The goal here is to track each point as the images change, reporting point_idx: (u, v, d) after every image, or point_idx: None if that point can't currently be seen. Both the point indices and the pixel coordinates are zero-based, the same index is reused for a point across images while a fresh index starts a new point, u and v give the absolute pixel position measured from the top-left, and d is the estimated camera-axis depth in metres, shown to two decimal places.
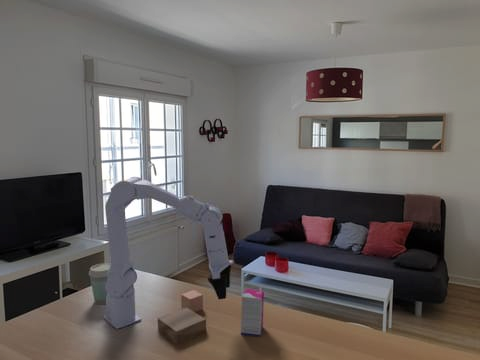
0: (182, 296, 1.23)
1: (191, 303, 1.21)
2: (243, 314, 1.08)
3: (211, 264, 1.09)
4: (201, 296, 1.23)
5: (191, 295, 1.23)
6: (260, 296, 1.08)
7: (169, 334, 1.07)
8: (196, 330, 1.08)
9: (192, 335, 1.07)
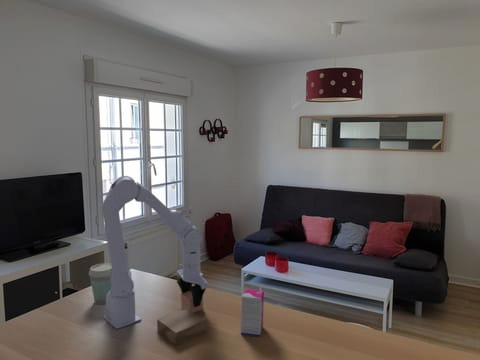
0: (182, 296, 1.23)
1: (191, 303, 1.21)
2: (243, 314, 1.08)
3: (190, 277, 1.20)
4: None
5: (191, 294, 1.23)
6: (260, 296, 1.08)
7: (168, 335, 1.06)
8: (196, 331, 1.08)
9: (191, 336, 1.07)
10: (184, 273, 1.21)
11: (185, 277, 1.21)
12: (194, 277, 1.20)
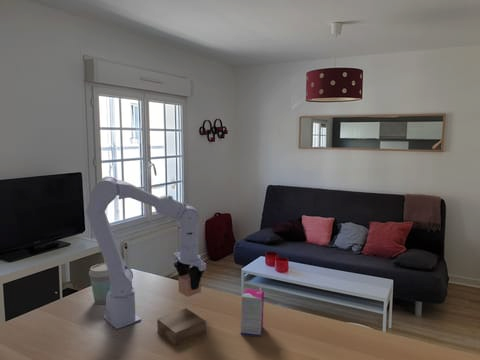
0: (179, 279, 1.20)
1: (188, 285, 1.17)
2: (243, 314, 1.08)
3: (188, 259, 1.16)
4: None
5: (189, 277, 1.20)
6: (260, 296, 1.08)
7: (168, 335, 1.06)
8: (195, 331, 1.07)
9: (191, 336, 1.07)
10: (181, 255, 1.17)
11: (182, 259, 1.17)
12: (192, 259, 1.17)
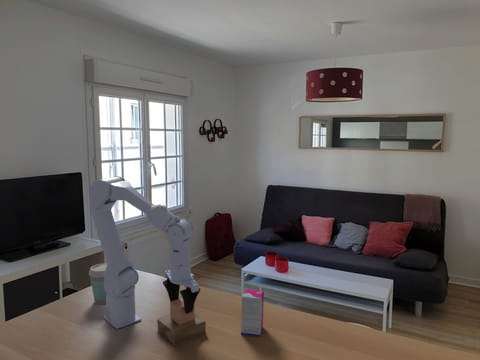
0: (171, 304, 1.10)
1: (180, 312, 1.07)
2: (243, 314, 1.08)
3: (179, 279, 1.06)
4: None
5: (181, 303, 1.09)
6: (260, 296, 1.08)
7: (168, 335, 1.06)
8: (195, 332, 1.07)
9: (191, 337, 1.07)
10: (172, 274, 1.07)
11: (173, 279, 1.07)
12: (183, 279, 1.06)
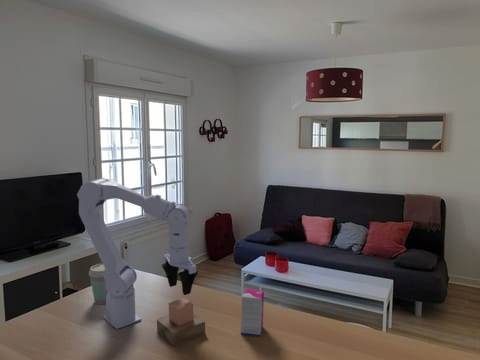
0: (170, 305, 1.09)
1: (179, 313, 1.06)
2: (243, 314, 1.08)
3: (178, 261, 1.10)
4: (191, 305, 1.09)
5: (180, 304, 1.09)
6: (260, 296, 1.08)
7: (167, 336, 1.06)
8: (195, 332, 1.07)
9: (190, 337, 1.06)
10: (171, 257, 1.11)
11: (172, 261, 1.11)
12: (181, 261, 1.10)
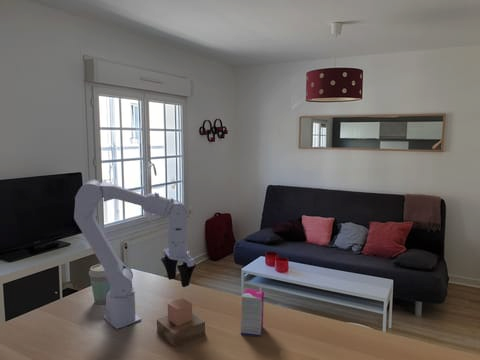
0: (168, 305, 1.09)
1: (178, 313, 1.06)
2: (243, 314, 1.08)
3: (176, 255, 1.16)
4: (190, 305, 1.09)
5: (179, 304, 1.09)
6: (260, 296, 1.08)
7: (167, 336, 1.06)
8: (195, 332, 1.07)
9: (190, 338, 1.06)
10: (170, 251, 1.16)
11: (171, 255, 1.16)
12: (180, 255, 1.16)
